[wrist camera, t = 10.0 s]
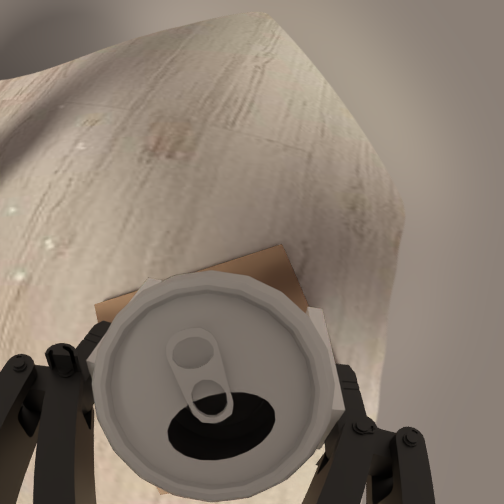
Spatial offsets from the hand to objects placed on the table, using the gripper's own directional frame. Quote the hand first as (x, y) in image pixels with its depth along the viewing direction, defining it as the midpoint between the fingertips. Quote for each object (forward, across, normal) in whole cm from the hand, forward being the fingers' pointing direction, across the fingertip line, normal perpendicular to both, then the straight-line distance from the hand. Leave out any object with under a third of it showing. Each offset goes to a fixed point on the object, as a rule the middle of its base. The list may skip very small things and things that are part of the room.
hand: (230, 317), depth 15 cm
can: (+1, 0, -6) cm, 6 cm away
